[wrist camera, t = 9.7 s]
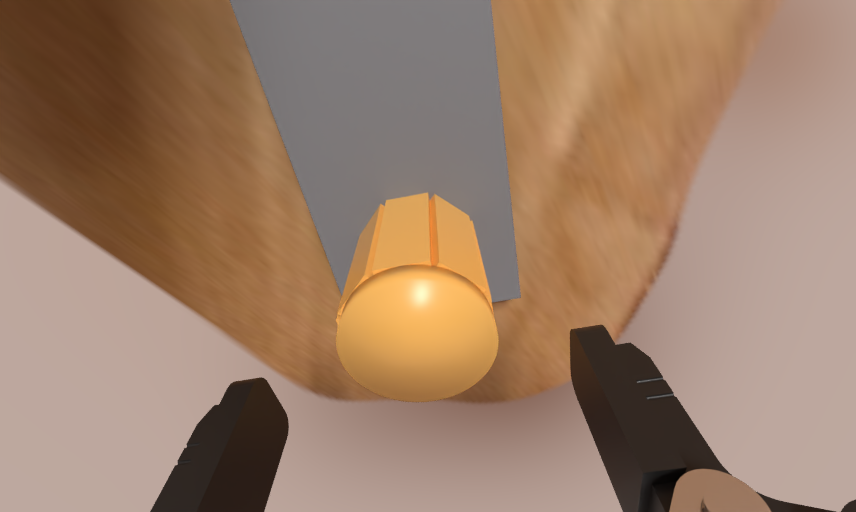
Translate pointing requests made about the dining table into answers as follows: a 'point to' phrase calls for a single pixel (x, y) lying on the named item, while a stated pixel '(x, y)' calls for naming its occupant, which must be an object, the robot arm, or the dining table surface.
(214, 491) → the robot arm
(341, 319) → the wire nut
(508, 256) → the board
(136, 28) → the dining table surface
